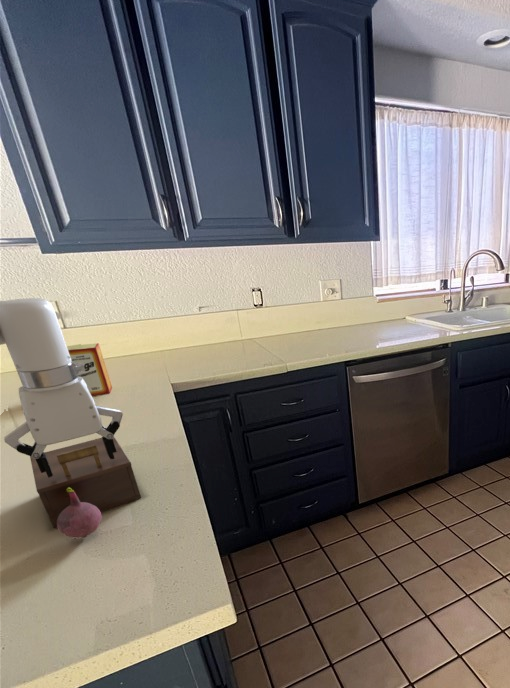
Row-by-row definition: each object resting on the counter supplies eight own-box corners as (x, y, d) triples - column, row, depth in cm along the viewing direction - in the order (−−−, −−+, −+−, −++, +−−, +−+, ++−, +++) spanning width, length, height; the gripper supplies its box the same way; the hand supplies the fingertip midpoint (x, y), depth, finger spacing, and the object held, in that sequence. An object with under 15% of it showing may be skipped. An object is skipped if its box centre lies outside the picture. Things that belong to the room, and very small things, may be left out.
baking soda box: (112, 387, 149) (98, 342, 142) (109, 393, 144) (95, 346, 137) (80, 391, 146) (64, 345, 139) (77, 397, 140) (60, 349, 133)
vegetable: (115, 528, 77) (98, 480, 73) (88, 550, 72) (68, 501, 67) (86, 524, 78) (67, 478, 74) (57, 547, 73) (35, 498, 68)
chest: (141, 497, 86) (130, 464, 82) (53, 528, 77) (37, 492, 74) (124, 468, 97) (114, 438, 93) (45, 492, 88) (31, 459, 85)
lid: (131, 465, 82) (124, 442, 80) (38, 494, 73) (27, 468, 71) (114, 437, 93) (107, 416, 91) (31, 459, 85) (21, 437, 83)
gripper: (103, 361, 79) (129, 444, 86) (-19, 382, 69) (21, 473, 76) (111, 370, 74) (138, 457, 81) (-19, 394, 64) (24, 490, 71)
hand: (81, 465), depth 79 cm, fingers open, 9 cm apart
